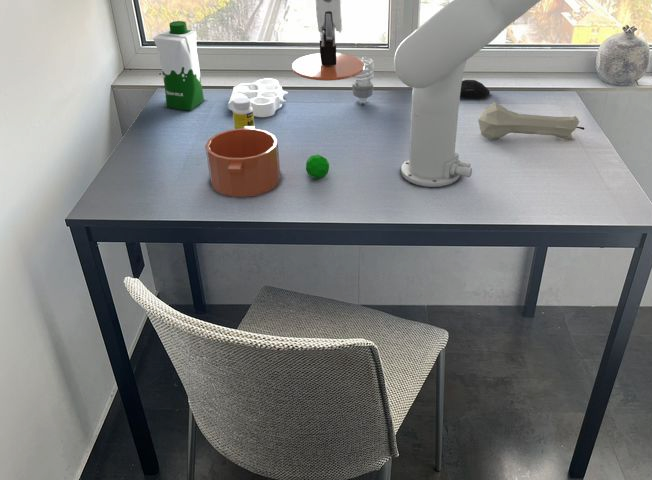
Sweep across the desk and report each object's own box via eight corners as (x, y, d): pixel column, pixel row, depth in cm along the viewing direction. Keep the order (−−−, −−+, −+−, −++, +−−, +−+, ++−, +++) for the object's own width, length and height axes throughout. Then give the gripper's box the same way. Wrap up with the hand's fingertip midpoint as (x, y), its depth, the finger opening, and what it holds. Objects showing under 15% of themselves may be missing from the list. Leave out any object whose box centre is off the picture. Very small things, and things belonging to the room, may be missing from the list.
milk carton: (209, 99, 179) (198, 22, 168) (191, 113, 173) (179, 33, 161) (179, 95, 182) (167, 19, 170) (161, 108, 175) (147, 29, 163)
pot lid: (364, 58, 152) (364, 32, 149) (363, 83, 140) (363, 56, 136) (295, 57, 152) (294, 32, 149) (288, 83, 140) (287, 56, 137)
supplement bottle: (251, 138, 160) (247, 104, 155) (232, 137, 161) (228, 103, 156) (257, 130, 164) (254, 97, 159) (239, 128, 165) (235, 95, 160)
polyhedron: (310, 184, 143) (309, 163, 140) (303, 173, 147) (302, 153, 144) (332, 179, 144) (332, 159, 142) (325, 169, 148) (324, 149, 145)
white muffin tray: (235, 90, 185) (290, 90, 185) (226, 117, 170) (285, 117, 170) (234, 78, 183) (289, 78, 183) (225, 105, 168) (284, 104, 168)
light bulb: (360, 109, 174) (360, 63, 167) (347, 102, 178) (347, 56, 171) (377, 104, 177) (378, 58, 170) (365, 97, 181) (365, 52, 174)
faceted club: (472, 124, 164) (575, 129, 165) (476, 149, 159) (582, 153, 160) (479, 95, 157) (586, 99, 158) (483, 119, 152) (594, 124, 153)
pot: (284, 158, 152) (282, 123, 147) (273, 204, 136) (270, 166, 131) (220, 158, 152) (216, 122, 147) (202, 203, 136) (196, 165, 131)
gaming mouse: (434, 88, 186) (435, 74, 183) (489, 91, 184) (490, 77, 182) (432, 97, 181) (433, 82, 178) (489, 100, 179) (491, 86, 177)
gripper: (348, -21, 128) (349, 75, 139) (341, -40, 141) (342, 48, 152) (308, -20, 127) (312, 76, 138) (305, -40, 140) (309, 50, 151)
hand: (328, 61), depth 145 cm, fingers closed on pot lid, 2 cm apart
